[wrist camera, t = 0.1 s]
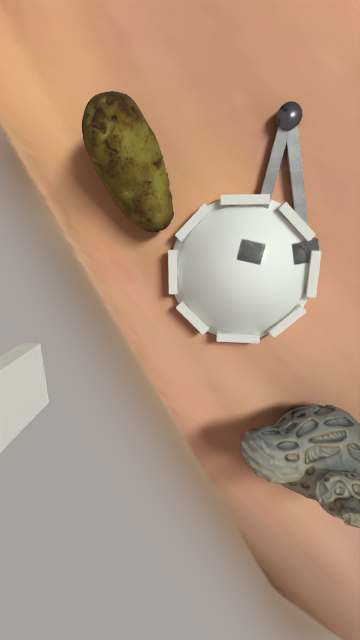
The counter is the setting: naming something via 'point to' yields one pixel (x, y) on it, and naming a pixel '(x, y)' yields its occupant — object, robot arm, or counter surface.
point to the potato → (128, 159)
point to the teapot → (311, 457)
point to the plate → (242, 268)
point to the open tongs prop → (289, 137)
